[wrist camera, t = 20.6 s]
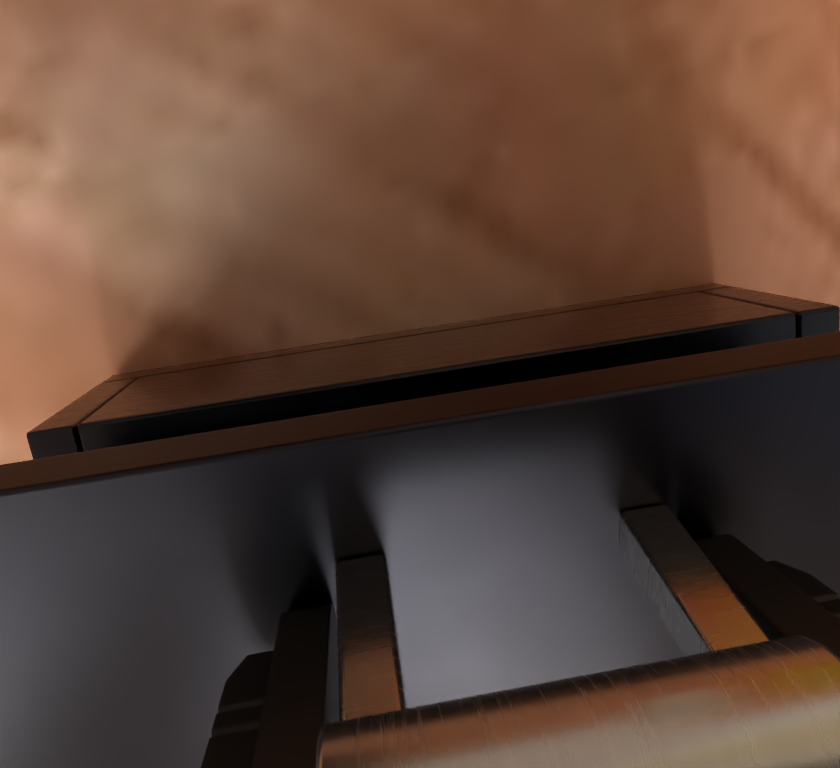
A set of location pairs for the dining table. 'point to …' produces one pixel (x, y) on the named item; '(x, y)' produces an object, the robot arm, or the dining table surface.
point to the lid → (444, 574)
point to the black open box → (423, 364)
